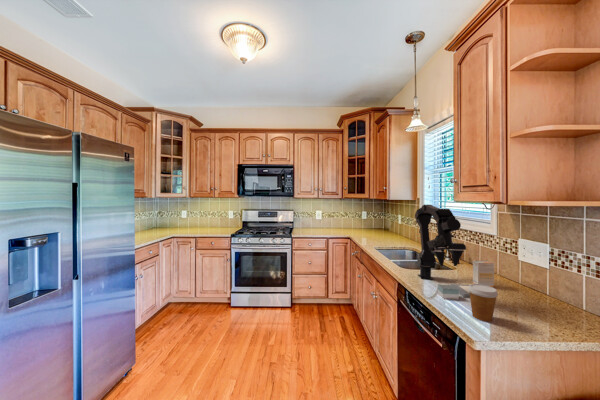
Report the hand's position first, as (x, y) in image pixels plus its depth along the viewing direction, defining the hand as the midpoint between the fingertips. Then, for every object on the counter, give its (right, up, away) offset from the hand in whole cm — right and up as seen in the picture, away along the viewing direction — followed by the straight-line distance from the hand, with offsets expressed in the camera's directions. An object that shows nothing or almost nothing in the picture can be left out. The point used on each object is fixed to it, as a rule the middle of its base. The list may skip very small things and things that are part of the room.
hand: (448, 266), depth 114 cm
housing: (0, -15, 0) cm, 15 cm away
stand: (+15, -15, +5) cm, 21 cm away
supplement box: (+28, -15, +15) cm, 35 cm away
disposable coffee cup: (+2, -15, -19) cm, 25 cm away
